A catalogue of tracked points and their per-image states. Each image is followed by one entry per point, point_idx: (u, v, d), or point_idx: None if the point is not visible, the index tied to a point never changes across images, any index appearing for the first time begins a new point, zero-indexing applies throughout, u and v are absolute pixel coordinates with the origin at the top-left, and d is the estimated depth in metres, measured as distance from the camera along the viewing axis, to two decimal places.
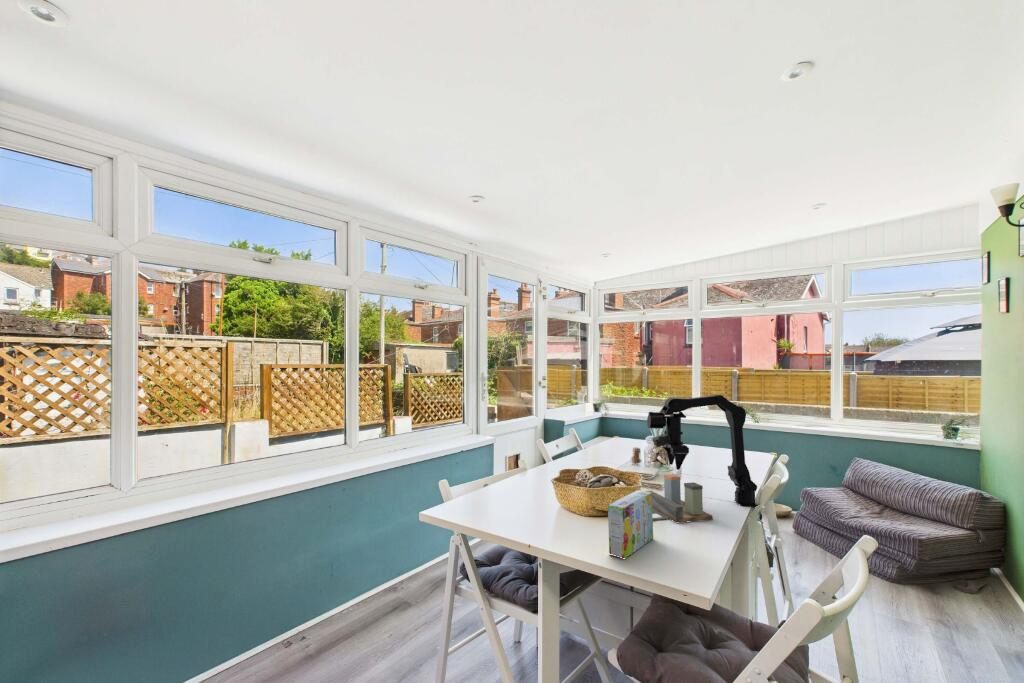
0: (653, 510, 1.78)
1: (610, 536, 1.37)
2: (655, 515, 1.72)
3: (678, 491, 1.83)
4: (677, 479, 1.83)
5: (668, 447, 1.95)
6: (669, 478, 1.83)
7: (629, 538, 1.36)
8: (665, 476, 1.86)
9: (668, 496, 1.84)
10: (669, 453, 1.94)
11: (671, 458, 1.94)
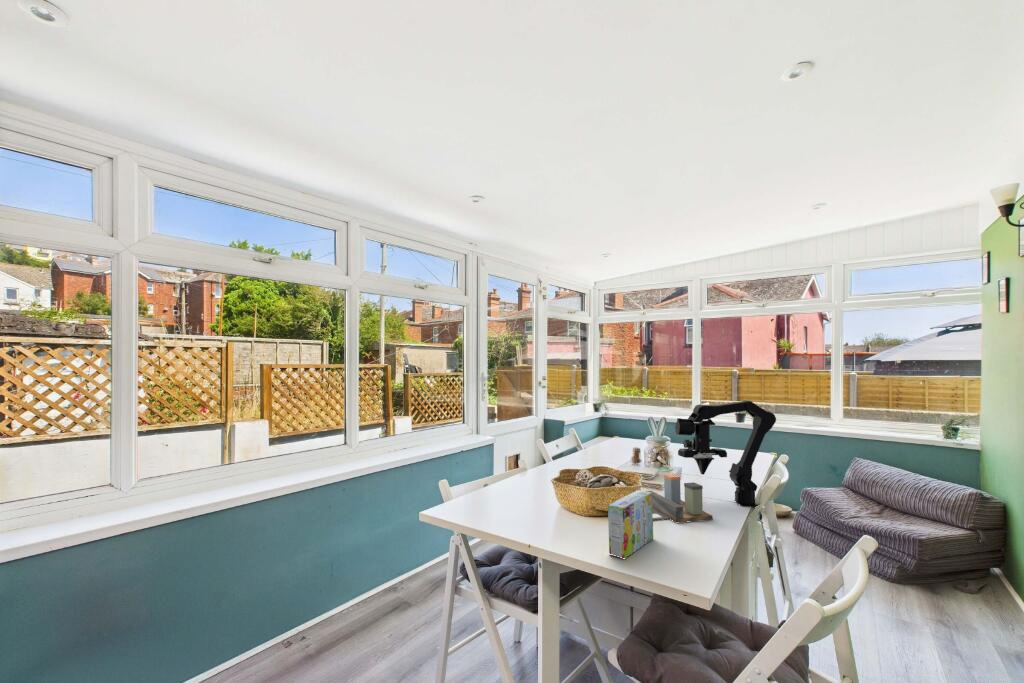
0: (653, 510, 1.78)
1: (610, 536, 1.37)
2: (655, 515, 1.72)
3: (678, 491, 1.83)
4: (677, 479, 1.83)
5: (703, 456, 1.90)
6: (669, 478, 1.83)
7: (629, 538, 1.36)
8: (665, 476, 1.86)
9: (668, 496, 1.84)
10: None
11: None
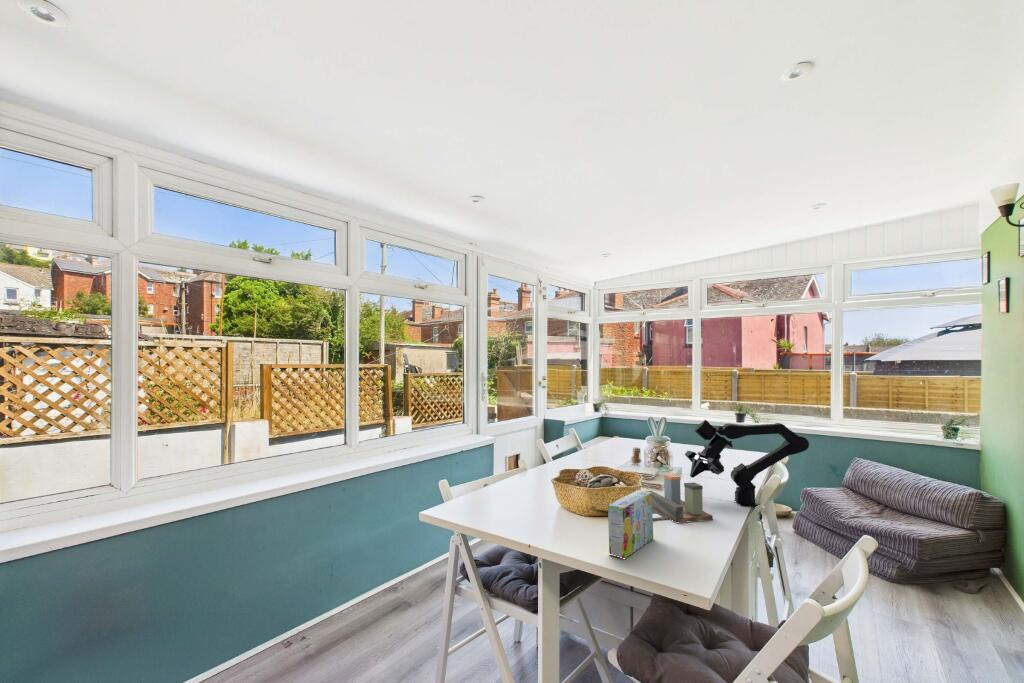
0: (653, 510, 1.78)
1: (610, 536, 1.37)
2: (655, 515, 1.72)
3: (678, 491, 1.83)
4: (677, 479, 1.83)
5: None
6: (669, 478, 1.83)
7: (629, 538, 1.36)
8: (665, 476, 1.86)
9: (668, 496, 1.84)
10: None
11: None
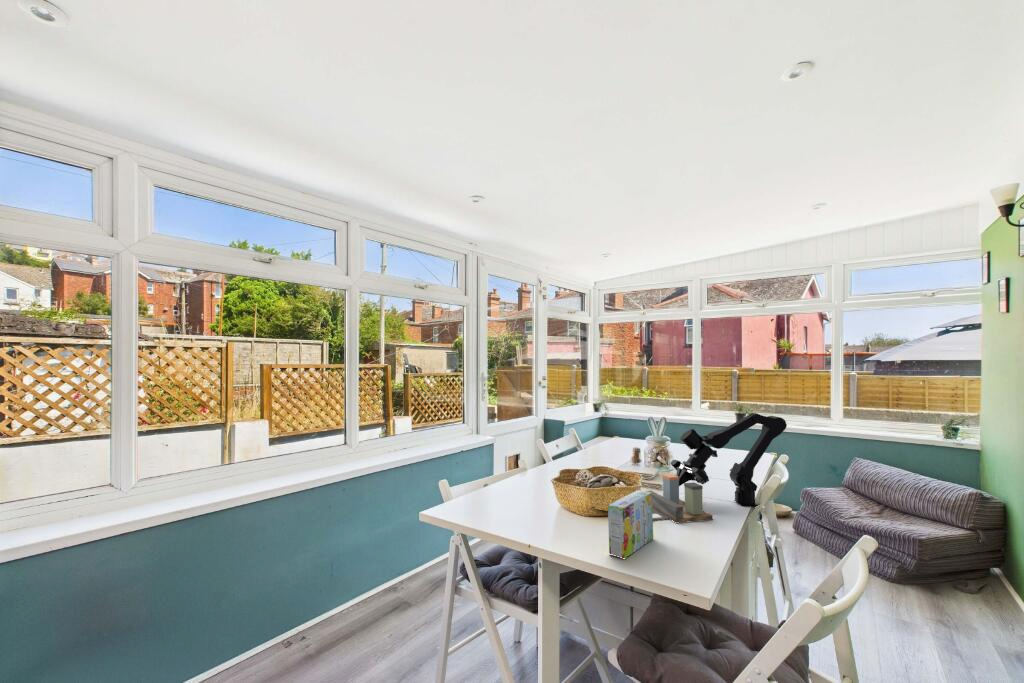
0: (653, 510, 1.78)
1: (610, 536, 1.37)
2: (655, 515, 1.72)
3: (677, 491, 1.83)
4: (675, 479, 1.83)
5: None
6: (668, 478, 1.83)
7: (629, 538, 1.36)
8: (664, 476, 1.86)
9: (667, 496, 1.84)
10: None
11: None
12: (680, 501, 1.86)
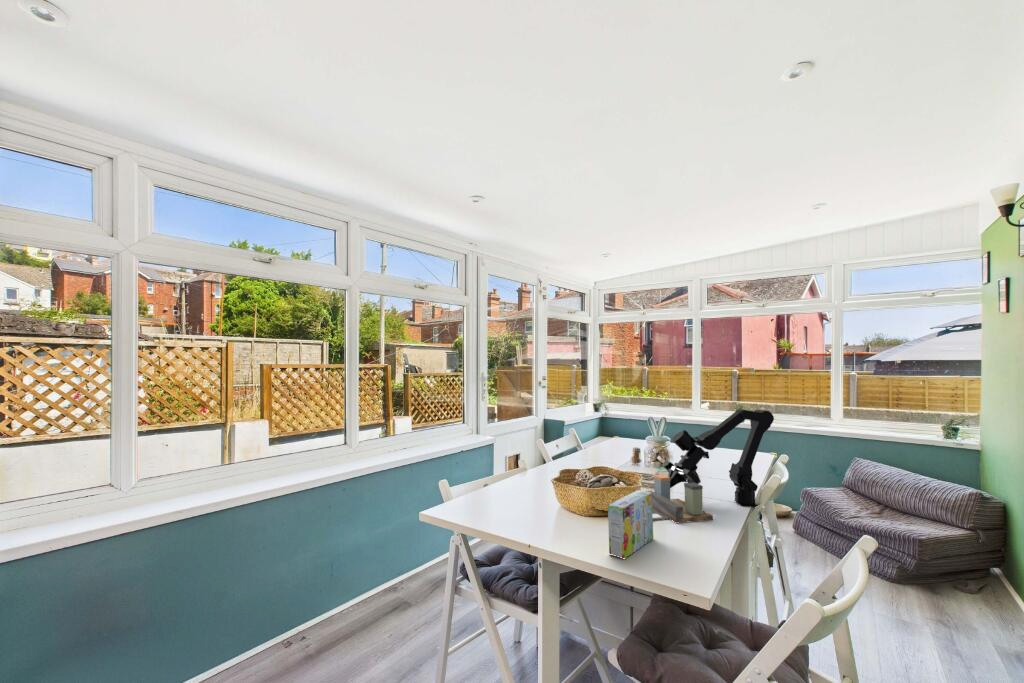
0: (653, 510, 1.78)
1: (610, 536, 1.37)
2: (655, 515, 1.72)
3: (668, 492, 1.82)
4: (666, 479, 1.82)
5: None
6: (659, 479, 1.82)
7: (629, 538, 1.36)
8: (655, 477, 1.85)
9: None
10: None
11: None
12: (680, 501, 1.86)
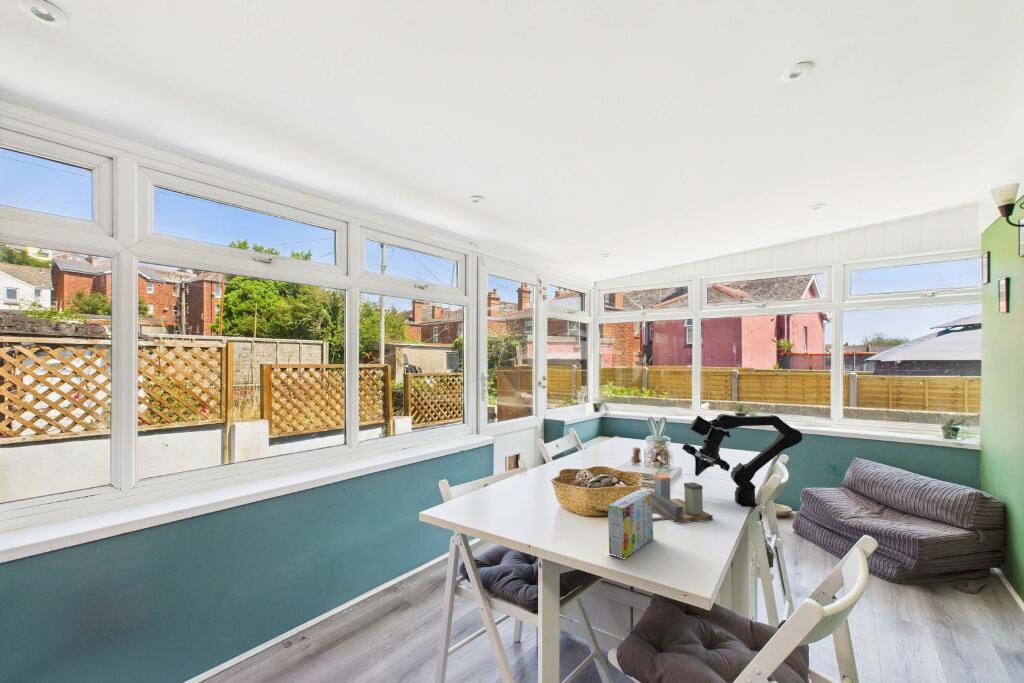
0: (653, 510, 1.78)
1: (610, 536, 1.37)
2: (655, 515, 1.72)
3: (668, 492, 1.82)
4: (666, 479, 1.82)
5: None
6: (659, 479, 1.82)
7: (629, 538, 1.36)
8: (655, 477, 1.85)
9: None
10: None
11: None
12: (680, 501, 1.86)
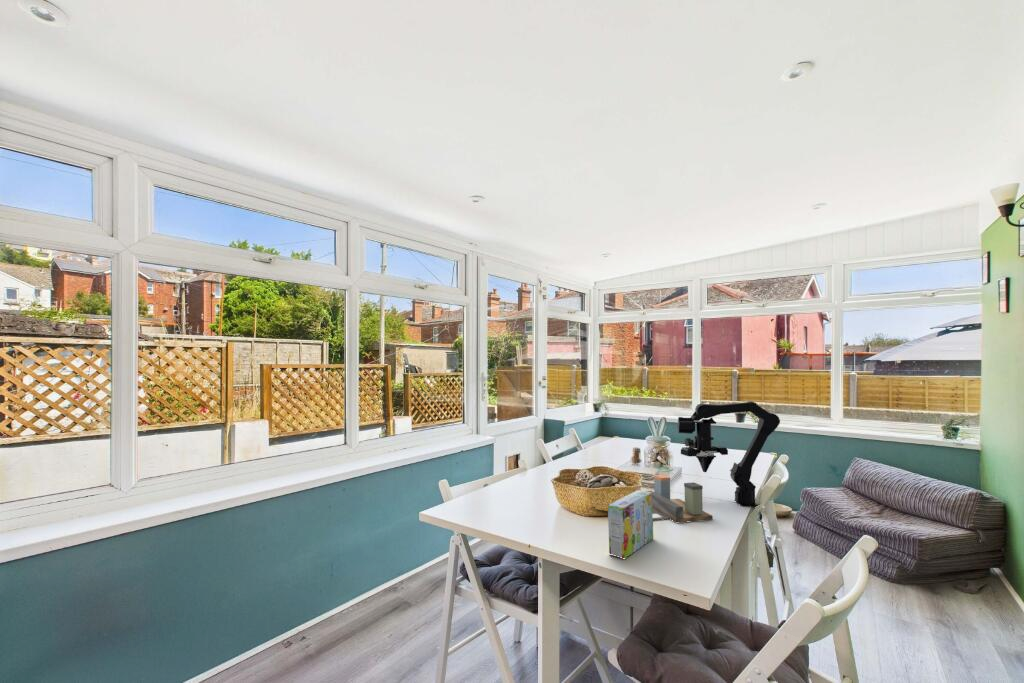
0: (653, 510, 1.78)
1: (610, 536, 1.37)
2: (655, 515, 1.72)
3: (668, 492, 1.82)
4: (666, 479, 1.82)
5: (705, 454, 1.93)
6: (659, 479, 1.82)
7: (629, 538, 1.36)
8: (655, 477, 1.85)
9: None
10: None
11: None
12: (680, 501, 1.86)
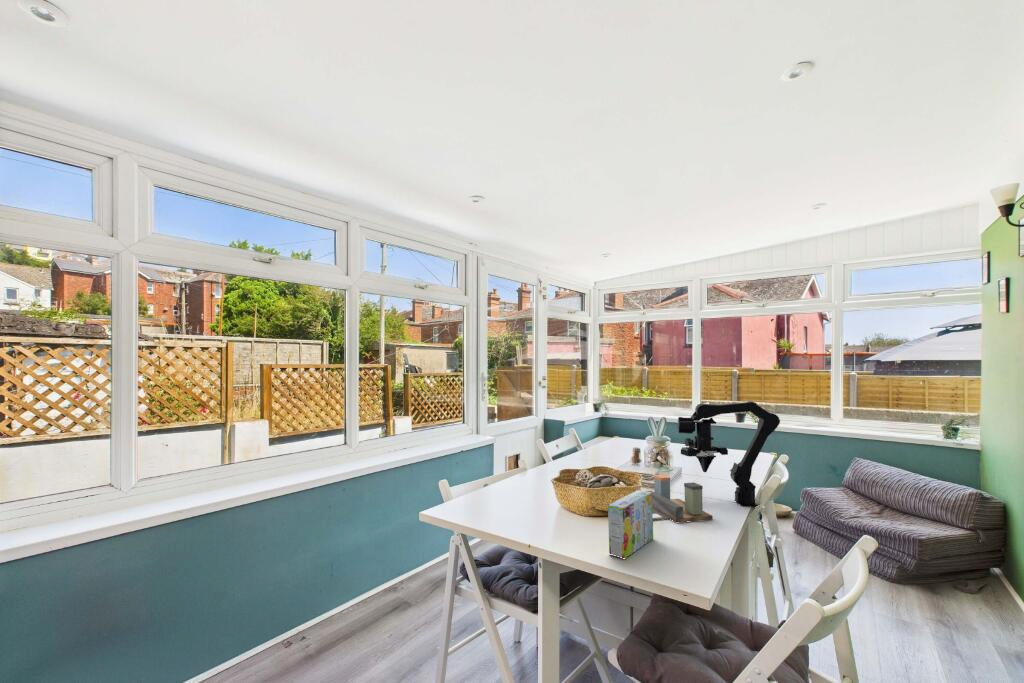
0: (653, 510, 1.78)
1: (610, 536, 1.37)
2: (655, 515, 1.72)
3: (668, 492, 1.82)
4: (666, 479, 1.82)
5: (705, 454, 1.93)
6: (659, 479, 1.82)
7: (629, 538, 1.36)
8: (655, 477, 1.85)
9: None
10: None
11: None
12: (680, 501, 1.86)
